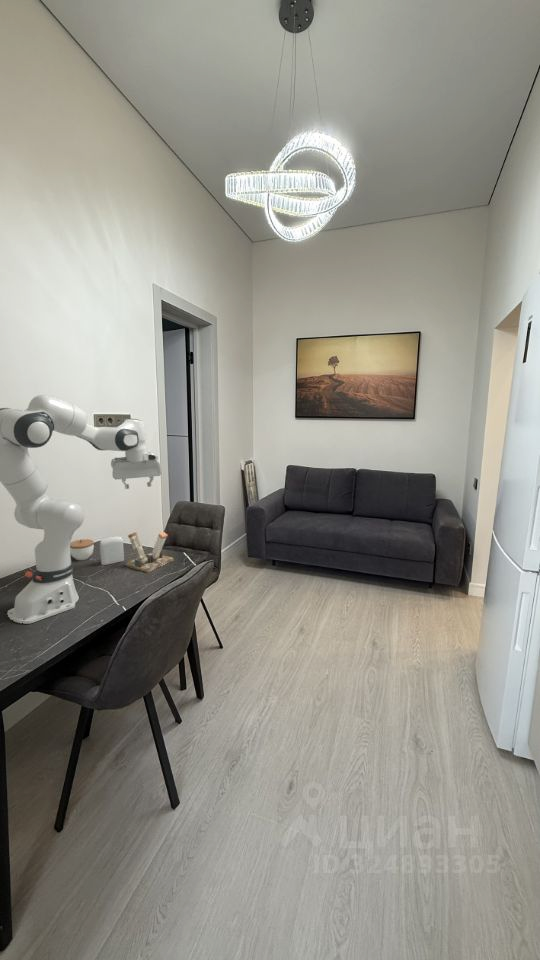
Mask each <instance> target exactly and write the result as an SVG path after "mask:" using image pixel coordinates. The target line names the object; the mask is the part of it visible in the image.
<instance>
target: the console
mask: <svg viewBox="0 0 540 960" xmlns="http://www.w3.org/2000/svg"><path fill="white" fill-rule="evenodd" d="M127 537H128V539H129V541H130V544H131V546H132V549H133V551H134V554H135V556H136V558H135V559H133V560H132V559H131V560H129V561H127V562H125V567H127V568H129V569H130V568H131V569H133V568H134V569H133V570H137V571H140V570H141V571H140V572H143V571H144V573H150V572H152V570H153V571H155V570H156V568H157V569H159V568H161V567H163V565H164V566H166V565H168V564H170V563H172V562H174V557H171V556H167V555H164V553H163V551H161V552H160V554H159V555H160V556H159V557H158V558H156V559H153V556H152V554H151V553H152V552H150V553H147V554H145V551H144V549H143V547H142V543H141V541H140V538H139V536H138V532H132V533H130V534H127ZM171 561H172V562H171ZM169 562H170V563H169ZM167 563H168V564H167ZM165 564H166V565H165ZM160 566H161V567H160ZM158 567H159V568H158ZM154 569H155V570H154Z"/></svg>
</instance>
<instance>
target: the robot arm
mask: <svg viewBox="0 0 540 960" xmlns="http://www.w3.org/2000/svg"><path fill="white" fill-rule="evenodd" d="M53 432H56V433H60V434H63V435H66V436H73V437H76V438H79V439H82V440H83V441H86V442H88V443H89V444H90V445H91V446H92V447H93V448H94V449H95V450H98V451H112V452H113V451H114V452H115V451H116V452H124V455H125V456H123V457H122V456H121V457H114V458H112V459H111V461H110V466H111V468H112V471H111V472H112V478H113V479H114V480H121V482H122V483H123V485H124V489H125V490H128V489H129V490H130V484H128V483H126V481H127V480H128V479H138V478H149V481H147V482H146V486H147V487H148V488H150V487H152V483H153V480H154V477H160V476H161V475H162V466H161V463H160V461H159V460H158V459H159V456H158V455H157V454H155V453H152V452H148V450H147V445H146V440H147V437H146V436H147V435H146V434H147V433H146V427H145V424H144V422H143V420H141V419H138V418H125V419H124V422H122V423H121V424H120V425H118V426H116V427H113V426H109V427H108V426H93V425H91V424H89V423H88V416H87V413H86V411H85V410H84V409H82V408H80V407H78V406H77V405H75V404H74V403H71V402H70V401H69V402H68V401H66V400H64V399H61V398H58V397H54V396H51V395H46V394H39V395H36V396H34V397H33V398H32V399H30V401H29V404H28V406H27V408H26V409H24V410H22V409H18V408H12V407H1V408H0V483H1V484H2V485H3V486H4V488H5V489H6V491H7V492H8V494H9V495H10V496H11V498H13V500H14V502H15V505H16V506H15V508H14V513H13V515H14V519H15V521H16V522H17V523H18V524H20V525H21V526H24V527H27V528H30V529H35V530H43V532H44V533H43V539H42V540H41V541H40V542H38V544H37V545H36V546H35V548H34V557H35V566H36V568H35V569H34V571H33V572H32V571H30V570H27V571H26V572H25V573H24V576H25V577H27V578H29V579H30V578H31V581H30V582H29V583H28V584H27V585H26V586H25V587H24V588H23V589H22V590H20V591H19V593H18V594H16V596H15V599H14V607H13V608H11V609H9V610H7V615H8V616H7V618H8V617H9V618H10V619H9V618H8V619H9V620H11V621H12V620H13V622H15V623H18V624H22V623H23V625H25V624H26V625H28V624H32V623H37V622H38V621H41V620H44V619H46V618H49V617H52V616H55V615H58V614H61V613H63V612H67V611H69V610H72V609H74V608H76V603H77V602H78V600H80V597H79V593H78V592H77V590H76V587H75V581H74V577H73V576H74V567H73V562H72V555H71V553H70V543H71V542H72V538H73V535H74V534H75V532H76V531H77V530H78V529H79V528H80V527H81V526H82V524H83V523H84V519H85V512H84V509H83V507H82V506H81V505H80V504H77V503H75V502H72V501H69V500H62V499H53V498H50V497H49V496H48V495H47V494H46V491H47V489H48V485H49V483H48V480H47V479H46V478H45V476H44V475H43V473H42V471H41V470H40V468H39V467H38V465H36V463H35V462H34V460H33V459H32V458H31V456H30V454H29V448H30V449H35V448H41V447H43V446H45V445H47V443H48V442H50V440H51V438H52V436H53Z"/></svg>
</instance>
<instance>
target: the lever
mask: <svg viewBox="0 0 540 960" xmlns="http://www.w3.org/2000/svg"><path fill="white" fill-rule="evenodd" d="M167 538H168V534H167V533H166V532H165V531H163V532H159V533H158V535H157V538H156V541H155V543H154V546H153V549H152V551H151V552H150V553H151V554H152V556H153V559H156V558H158V557H159V556H160V555H159V554H160V552H162V549H163V547H164V545H165V542H166V539H167Z"/></svg>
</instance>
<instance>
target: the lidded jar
mask: <svg viewBox="0 0 540 960" xmlns="http://www.w3.org/2000/svg"><path fill="white" fill-rule="evenodd" d="M94 544H95V542H94V540H92V539H85V538H83V539H82V538H81V539H77V540H73V541H71V543H70V555H71V558H74V559H75V561H85V560H88V559H89V558H90V557H91V556H92V555H93V553H94V548H95V545H94Z"/></svg>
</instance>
